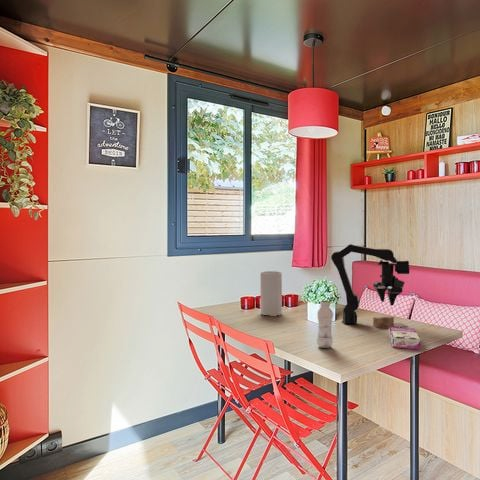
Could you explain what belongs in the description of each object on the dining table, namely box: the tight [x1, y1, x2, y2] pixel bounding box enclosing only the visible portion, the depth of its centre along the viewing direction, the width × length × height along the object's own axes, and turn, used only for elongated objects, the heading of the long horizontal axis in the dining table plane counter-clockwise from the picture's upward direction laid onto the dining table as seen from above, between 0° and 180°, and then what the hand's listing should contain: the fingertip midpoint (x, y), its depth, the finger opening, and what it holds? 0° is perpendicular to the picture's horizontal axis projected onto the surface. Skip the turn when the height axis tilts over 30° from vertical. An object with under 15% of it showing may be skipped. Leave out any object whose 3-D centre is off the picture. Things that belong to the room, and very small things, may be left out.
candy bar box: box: [388, 327, 421, 350], centre depth 166 cm, size 11×5×16 cm
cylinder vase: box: [260, 270, 283, 317], centre depth 222 cm, size 12×12×25 cm
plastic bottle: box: [316, 300, 334, 349], centre depth 161 cm, size 6×7×20 cm
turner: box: [372, 315, 409, 329], centre depth 194 cm, size 17×6×5 cm, turn 101°
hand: (387, 303), depth 193 cm, fingers open, 9 cm apart
